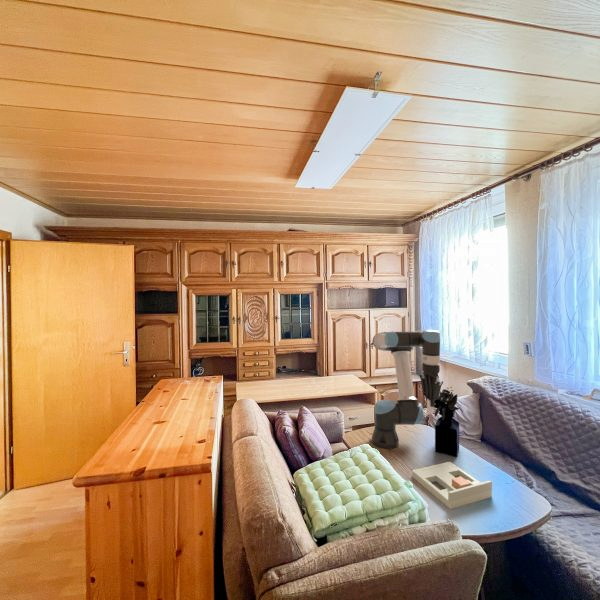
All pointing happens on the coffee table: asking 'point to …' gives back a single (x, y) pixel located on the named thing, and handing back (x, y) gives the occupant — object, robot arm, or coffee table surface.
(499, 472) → the coffee table surface
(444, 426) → the vase
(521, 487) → the coffee table surface
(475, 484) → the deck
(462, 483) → the block
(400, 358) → the robot arm
